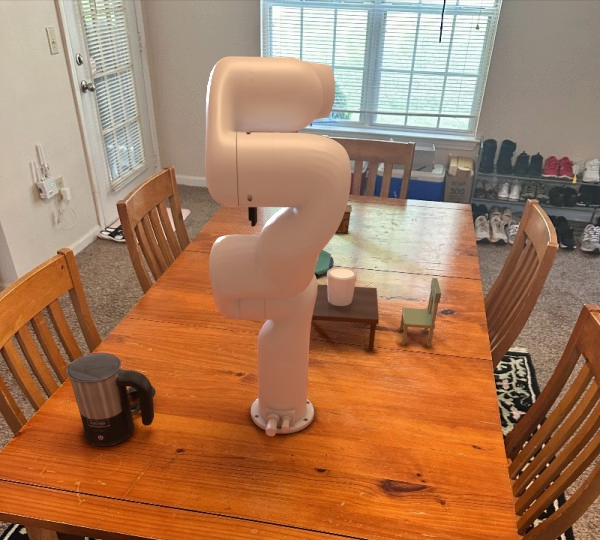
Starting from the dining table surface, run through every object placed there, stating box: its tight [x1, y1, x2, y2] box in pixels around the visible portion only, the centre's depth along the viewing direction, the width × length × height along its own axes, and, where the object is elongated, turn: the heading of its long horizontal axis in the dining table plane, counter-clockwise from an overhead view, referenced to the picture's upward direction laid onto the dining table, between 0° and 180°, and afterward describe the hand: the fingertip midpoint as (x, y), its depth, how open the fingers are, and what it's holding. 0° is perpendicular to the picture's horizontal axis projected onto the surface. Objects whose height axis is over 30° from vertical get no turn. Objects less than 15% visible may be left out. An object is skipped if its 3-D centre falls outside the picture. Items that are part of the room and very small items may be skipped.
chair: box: [399, 277, 442, 348], centre depth 133 cm, size 8×7×14 cm
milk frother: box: [65, 352, 156, 447], centre depth 106 cm, size 14×16×15 cm
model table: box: [312, 283, 380, 352], centre depth 136 cm, size 16×18×9 cm
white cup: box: [326, 266, 358, 306], centre depth 131 cm, size 7×7×7 cm
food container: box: [335, 204, 353, 235], centre depth 191 cm, size 12×6×10 cm, turn 25°
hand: (277, 226), depth 116 cm, fingers open, 9 cm apart
